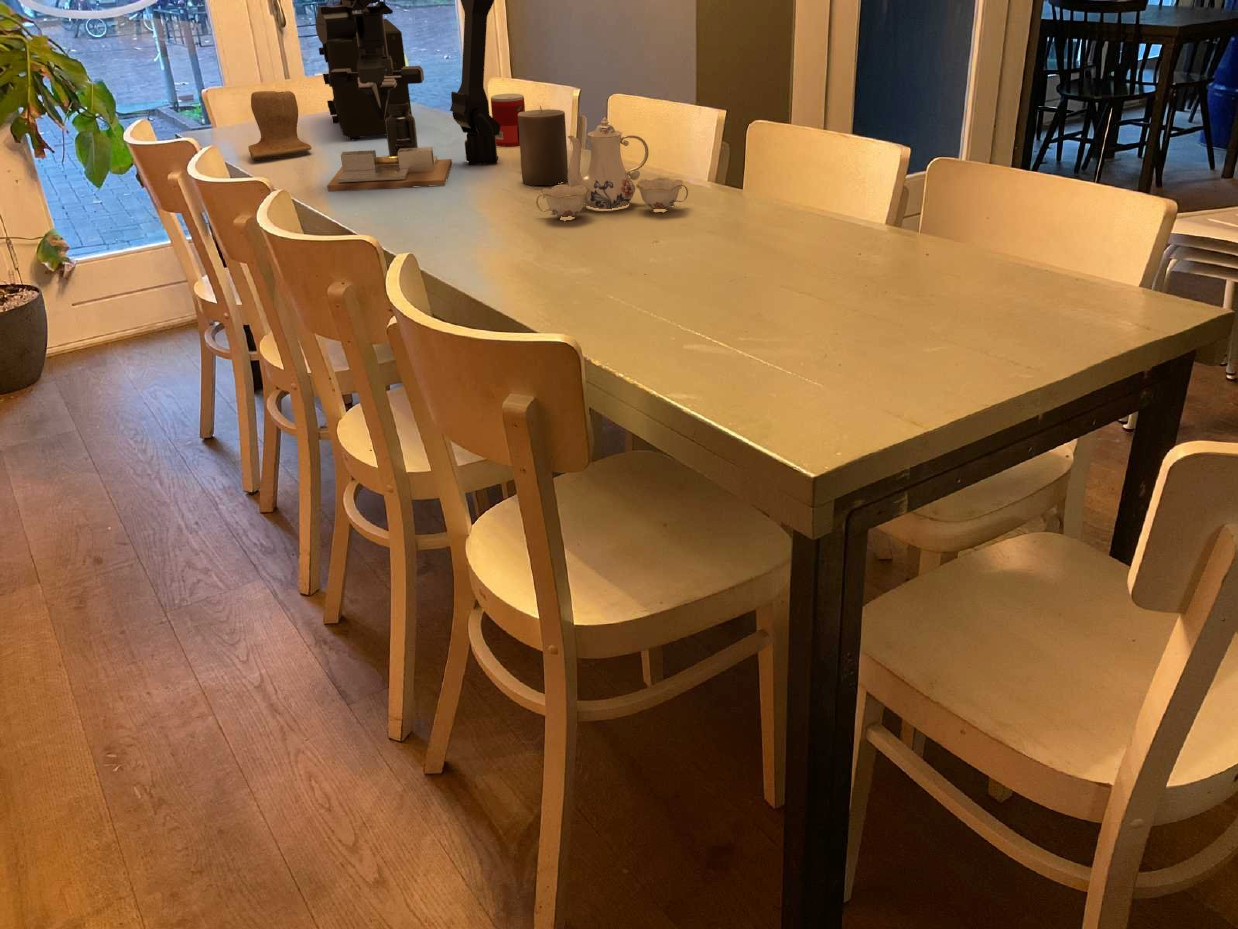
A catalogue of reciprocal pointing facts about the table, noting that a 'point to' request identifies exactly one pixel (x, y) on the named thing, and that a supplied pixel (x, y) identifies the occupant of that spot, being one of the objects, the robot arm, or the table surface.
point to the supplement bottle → (400, 128)
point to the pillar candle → (543, 147)
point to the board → (411, 180)
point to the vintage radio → (355, 103)
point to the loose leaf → (368, 167)
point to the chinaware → (607, 178)
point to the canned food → (507, 117)
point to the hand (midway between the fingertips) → (382, 119)
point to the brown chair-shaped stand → (276, 125)
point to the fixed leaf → (414, 160)
